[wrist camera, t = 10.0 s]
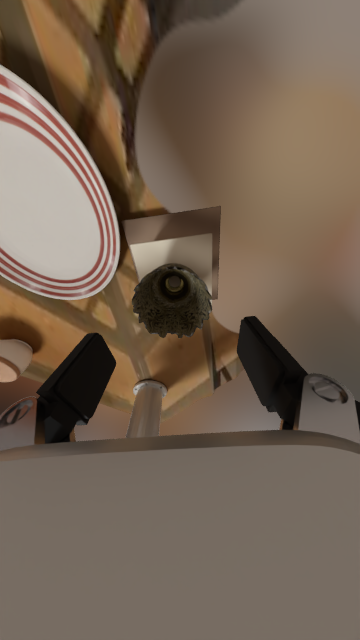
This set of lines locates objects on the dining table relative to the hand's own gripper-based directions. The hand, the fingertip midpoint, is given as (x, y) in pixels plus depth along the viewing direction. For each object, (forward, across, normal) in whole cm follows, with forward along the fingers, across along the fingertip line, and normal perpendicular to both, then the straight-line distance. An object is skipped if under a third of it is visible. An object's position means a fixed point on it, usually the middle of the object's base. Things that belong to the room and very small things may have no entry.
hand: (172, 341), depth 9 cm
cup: (+12, 0, 0) cm, 12 cm away
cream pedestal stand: (+22, 0, -1) cm, 22 cm away
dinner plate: (+22, +22, -10) cm, 33 cm away
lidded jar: (+23, +48, +16) cm, 55 cm away
